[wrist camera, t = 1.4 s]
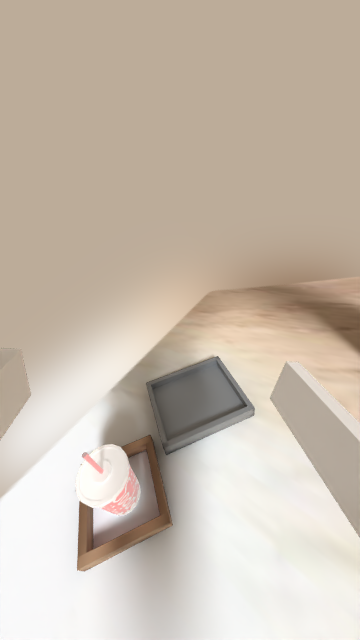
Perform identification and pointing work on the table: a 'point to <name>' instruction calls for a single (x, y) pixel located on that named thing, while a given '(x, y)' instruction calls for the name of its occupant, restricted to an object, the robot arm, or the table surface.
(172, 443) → the tray
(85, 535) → the holder
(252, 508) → the table surface
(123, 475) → the beverage cup
